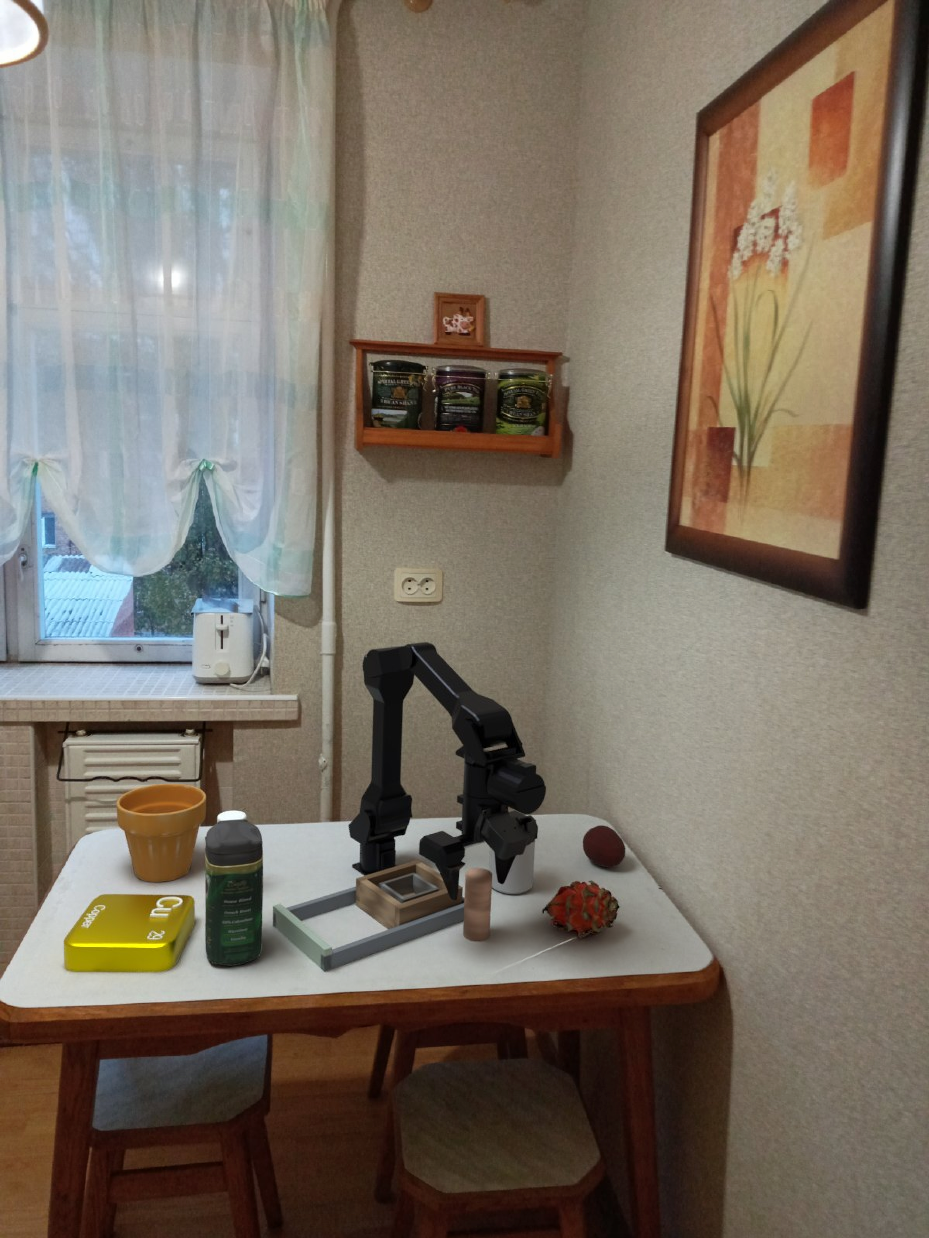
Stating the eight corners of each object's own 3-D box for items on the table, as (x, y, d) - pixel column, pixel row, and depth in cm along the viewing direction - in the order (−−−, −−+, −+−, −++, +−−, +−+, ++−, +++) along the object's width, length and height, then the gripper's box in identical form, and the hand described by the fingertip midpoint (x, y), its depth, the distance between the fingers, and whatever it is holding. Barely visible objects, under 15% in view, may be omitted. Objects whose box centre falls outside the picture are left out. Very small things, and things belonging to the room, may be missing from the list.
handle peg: (457, 934, 134) (460, 872, 133) (477, 926, 137) (480, 865, 135) (474, 945, 131) (477, 882, 130) (494, 937, 134) (497, 875, 132)
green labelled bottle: (265, 964, 124) (266, 838, 121) (207, 971, 122) (205, 844, 119) (259, 929, 133) (259, 812, 130) (204, 936, 131) (203, 816, 128)
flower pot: (221, 858, 157) (220, 787, 155) (182, 894, 143) (180, 818, 141) (146, 849, 159) (145, 779, 157) (101, 884, 145) (99, 809, 143)
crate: (355, 904, 141) (356, 878, 141) (416, 885, 149) (417, 859, 148) (398, 936, 132) (399, 908, 132) (461, 914, 140) (462, 887, 139)
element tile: (97, 919, 135) (96, 889, 135) (197, 920, 136) (197, 890, 136) (59, 974, 121) (58, 941, 120) (172, 975, 122) (171, 942, 121)
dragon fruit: (624, 944, 137) (546, 953, 136) (612, 892, 142) (538, 901, 142) (627, 919, 130) (546, 928, 130) (615, 866, 136) (537, 875, 136)
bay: (272, 927, 134) (272, 905, 134) (415, 881, 151) (416, 862, 150) (324, 973, 123) (324, 949, 122) (472, 918, 139) (473, 897, 139)
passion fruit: (603, 878, 155) (605, 840, 154) (573, 859, 162) (575, 823, 161) (635, 870, 159) (638, 833, 158) (604, 852, 166) (607, 816, 165)
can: (529, 900, 146) (533, 831, 144) (484, 894, 147) (487, 825, 145) (535, 880, 153) (538, 814, 151) (492, 874, 155) (495, 809, 153)
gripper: (467, 823, 118) (463, 932, 121) (566, 796, 130) (560, 895, 133) (418, 797, 127) (414, 899, 129) (515, 774, 138) (510, 868, 141)
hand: (477, 891), depth 133 cm, fingers open, 9 cm apart
